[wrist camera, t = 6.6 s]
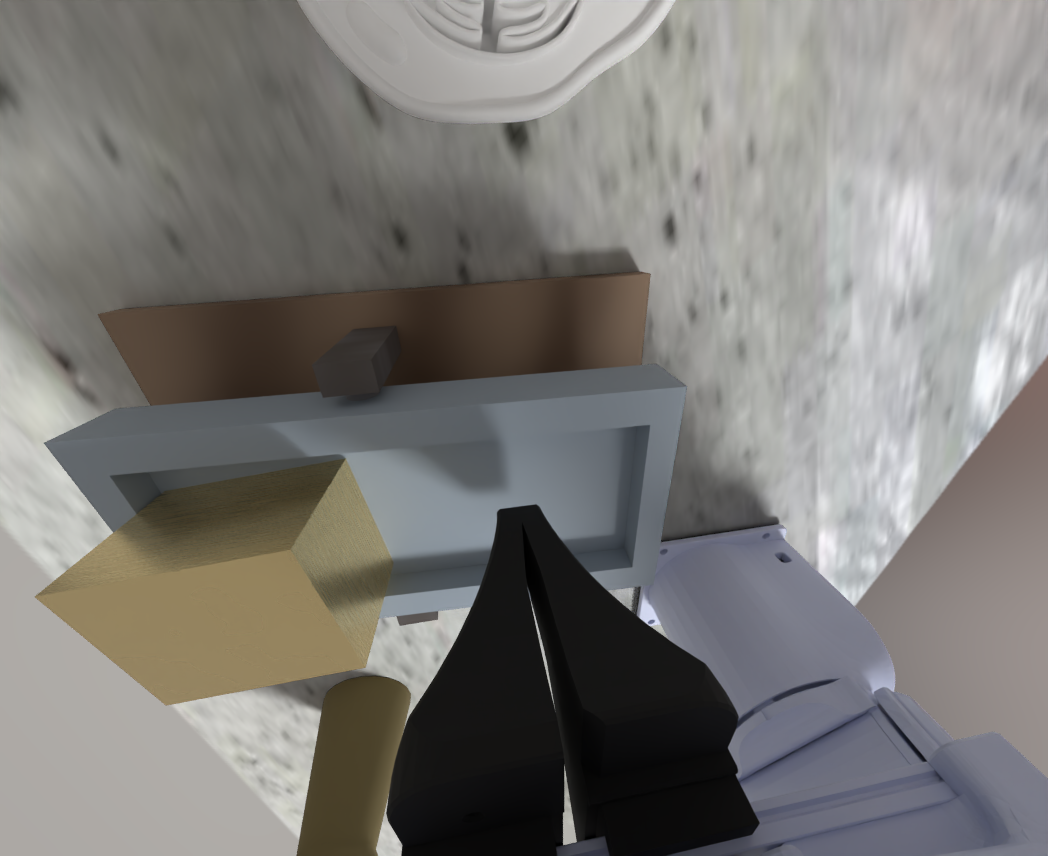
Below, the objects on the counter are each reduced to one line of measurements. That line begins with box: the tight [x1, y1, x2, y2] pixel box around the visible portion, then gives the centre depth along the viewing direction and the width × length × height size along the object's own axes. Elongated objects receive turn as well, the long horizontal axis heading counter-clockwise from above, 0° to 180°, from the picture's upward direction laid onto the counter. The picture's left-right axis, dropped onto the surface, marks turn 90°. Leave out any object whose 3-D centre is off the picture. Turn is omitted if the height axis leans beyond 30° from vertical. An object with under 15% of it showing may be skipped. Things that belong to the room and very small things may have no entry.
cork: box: [297, 676, 411, 856], centre depth 22 cm, size 6×6×11 cm
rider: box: [35, 458, 394, 705], centre depth 12 cm, size 6×5×4 cm
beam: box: [44, 364, 687, 618], centre depth 14 cm, size 18×9×2 cm, turn 93°
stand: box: [98, 272, 651, 626], centre depth 16 cm, size 20×14×5 cm
